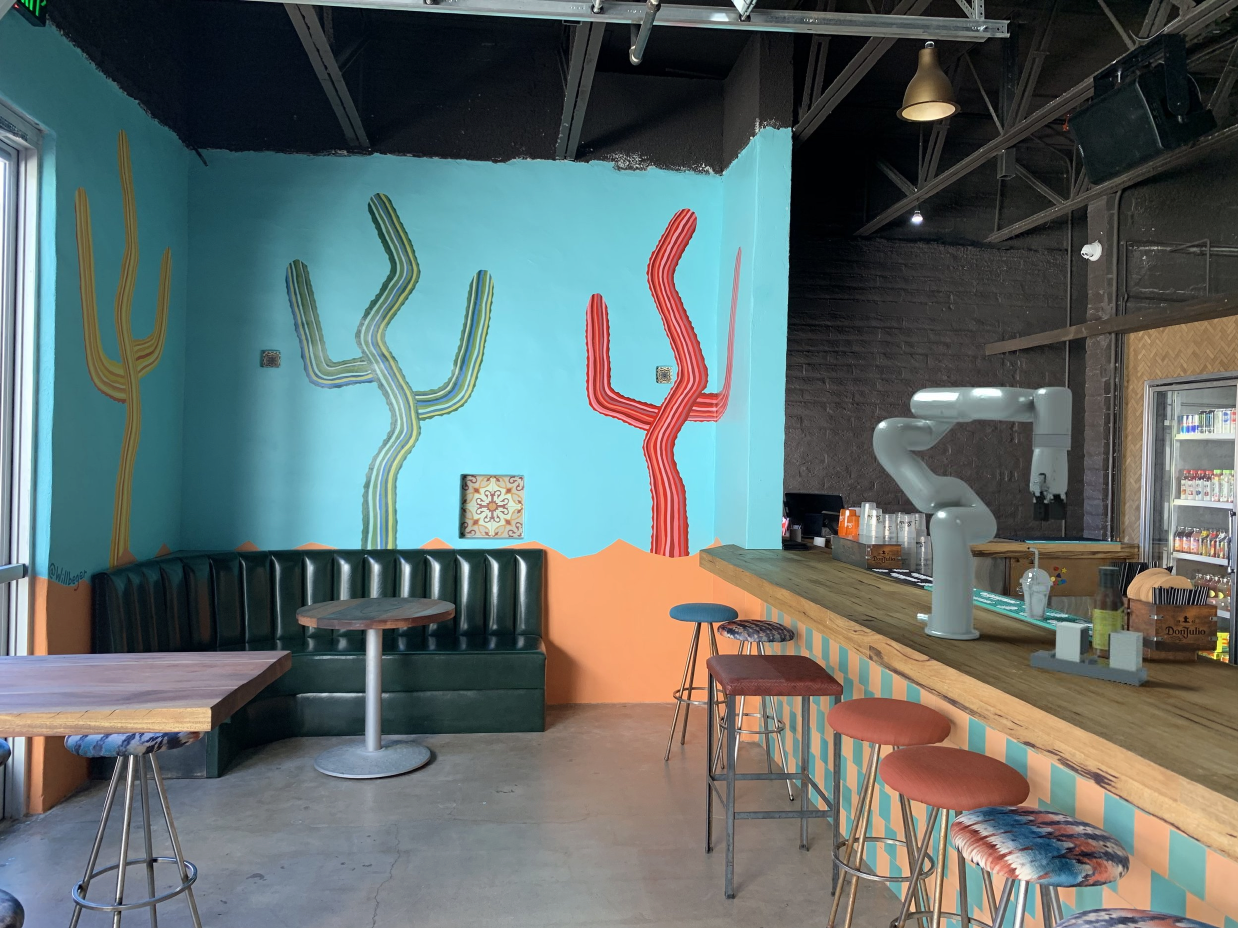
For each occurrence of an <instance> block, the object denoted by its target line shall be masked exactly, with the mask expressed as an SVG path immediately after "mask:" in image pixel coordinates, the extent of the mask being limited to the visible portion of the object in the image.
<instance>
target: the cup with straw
mask: <svg viewBox="0 0 1238 928" xmlns="http://www.w3.org/2000/svg"><path fill="white" fill-rule="evenodd" d="M1027 550H1028V551H1033V552H1035V555H1034V557H1035V558H1034V559H1035V560H1034V568H1030V569H1028V570H1026V571H1025V572H1024V574H1023V576H1022V578H1020V579H1019V581H1018V582H1019V583H1021V584H1022V585H1021V586H1022V590H1023V591H1022V592H1023V595H1024V609H1025V614H1026V617H1025V618H1027V619H1031V620H1036V619H1037V621H1039V620H1041V621H1043V620H1045V616H1046V612H1047V610H1046V609H1047V606H1048V605H1047V604H1048V598H1049V595H1050V594H1049V593H1050V590H1051V586H1054V581H1053V580H1051V577H1050V576H1049V574H1048V572H1046V570H1044V569H1041V568H1039V551H1038V549H1037V548H1034V547H1027Z"/></svg>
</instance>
